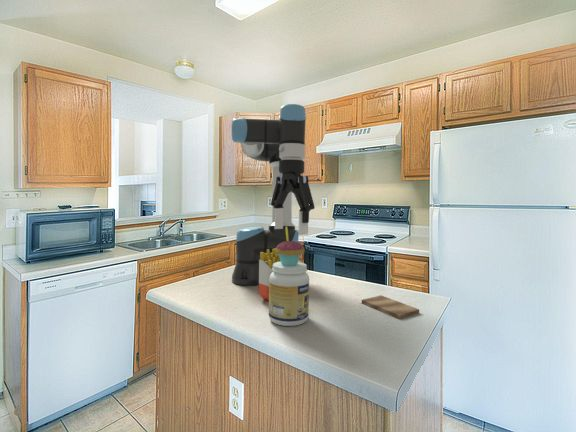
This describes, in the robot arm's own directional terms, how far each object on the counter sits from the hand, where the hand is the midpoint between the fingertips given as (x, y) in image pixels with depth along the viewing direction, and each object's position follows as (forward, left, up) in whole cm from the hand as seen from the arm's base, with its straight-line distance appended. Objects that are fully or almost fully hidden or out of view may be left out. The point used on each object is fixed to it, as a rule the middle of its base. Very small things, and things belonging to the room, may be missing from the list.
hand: (290, 231), depth 93 cm
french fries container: (-18, +5, -27) cm, 33 cm away
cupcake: (0, 0, -10) cm, 10 cm away
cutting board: (+9, +35, -27) cm, 45 cm away
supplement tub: (0, 0, -27) cm, 27 cm away
